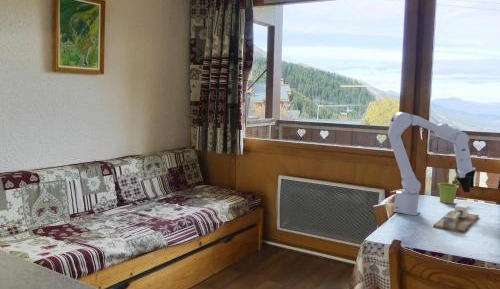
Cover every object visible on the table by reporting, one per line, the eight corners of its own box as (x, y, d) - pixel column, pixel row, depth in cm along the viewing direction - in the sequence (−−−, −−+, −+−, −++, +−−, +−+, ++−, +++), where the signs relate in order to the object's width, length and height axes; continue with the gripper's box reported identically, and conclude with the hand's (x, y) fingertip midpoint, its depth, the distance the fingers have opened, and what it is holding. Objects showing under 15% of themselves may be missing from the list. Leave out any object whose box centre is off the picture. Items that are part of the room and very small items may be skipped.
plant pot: (458, 202, 227) (460, 184, 226) (455, 205, 219) (457, 187, 218) (438, 199, 232) (440, 182, 231) (434, 202, 224) (436, 184, 223)
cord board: (433, 227, 182) (434, 214, 181) (451, 212, 206) (452, 201, 205) (463, 233, 175) (464, 220, 175) (478, 217, 200) (479, 206, 199)
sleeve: (453, 215, 195) (454, 205, 195) (456, 213, 199) (457, 203, 199) (465, 217, 193) (466, 207, 192) (467, 215, 197) (468, 205, 196)
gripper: (469, 161, 190) (475, 193, 191) (476, 154, 201) (482, 184, 202) (451, 163, 194) (457, 194, 195) (459, 155, 205) (464, 185, 207)
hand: (468, 189), depth 199 cm, fingers open, 7 cm apart
